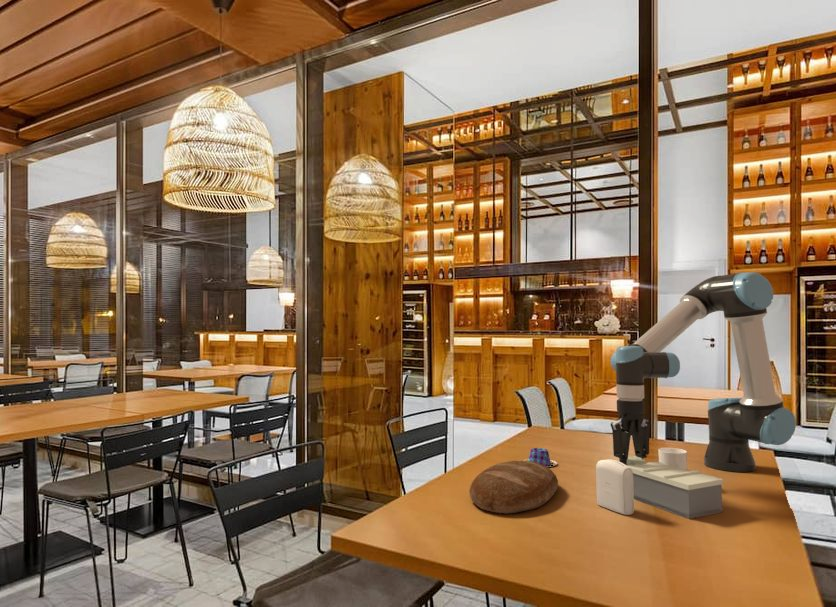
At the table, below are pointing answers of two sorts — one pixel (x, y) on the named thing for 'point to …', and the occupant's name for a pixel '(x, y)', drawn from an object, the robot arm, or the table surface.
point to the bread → (513, 487)
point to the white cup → (673, 457)
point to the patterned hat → (540, 456)
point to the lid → (672, 474)
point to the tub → (678, 497)
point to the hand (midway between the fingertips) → (632, 480)
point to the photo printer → (615, 486)
